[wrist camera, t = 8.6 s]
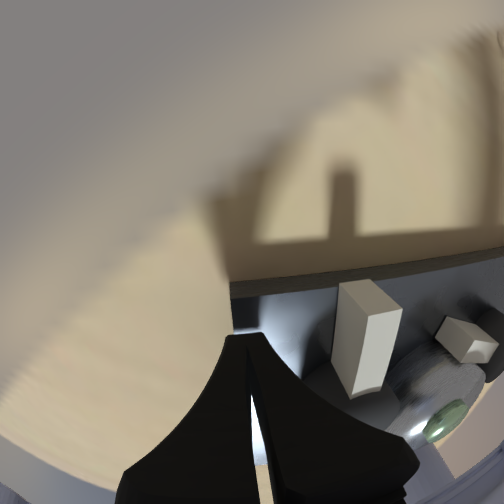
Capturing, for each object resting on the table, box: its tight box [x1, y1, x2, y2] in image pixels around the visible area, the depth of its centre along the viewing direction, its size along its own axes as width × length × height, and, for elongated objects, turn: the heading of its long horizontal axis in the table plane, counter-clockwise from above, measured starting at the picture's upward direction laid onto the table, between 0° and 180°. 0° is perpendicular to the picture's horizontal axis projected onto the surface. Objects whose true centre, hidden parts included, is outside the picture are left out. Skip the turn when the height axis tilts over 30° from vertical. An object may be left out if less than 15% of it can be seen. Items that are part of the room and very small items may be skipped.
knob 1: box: [303, 279, 403, 431], centre depth 10 cm, size 8×4×3 cm, turn 3°
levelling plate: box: [229, 247, 504, 465], centre depth 12 cm, size 14×22×6 cm, turn 93°
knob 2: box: [435, 308, 504, 383], centre depth 12 cm, size 8×4×3 cm, turn 71°
